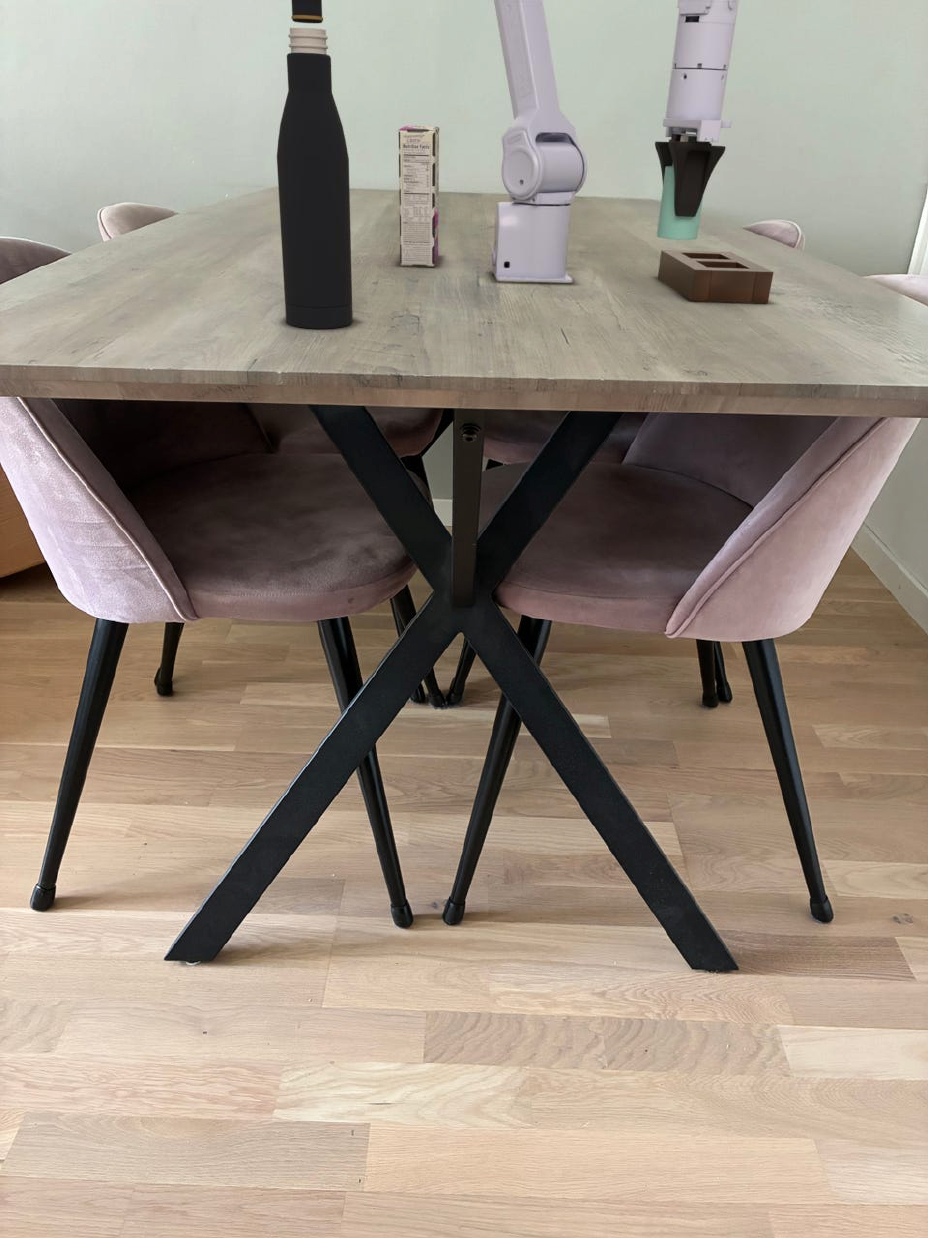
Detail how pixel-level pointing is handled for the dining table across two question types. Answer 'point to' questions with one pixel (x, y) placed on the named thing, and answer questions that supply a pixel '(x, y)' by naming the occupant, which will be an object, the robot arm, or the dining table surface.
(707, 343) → the dining table surface
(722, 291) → the peg block
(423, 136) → the candy bar box
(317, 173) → the black bottle
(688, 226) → the small bottle
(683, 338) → the dining table surface
